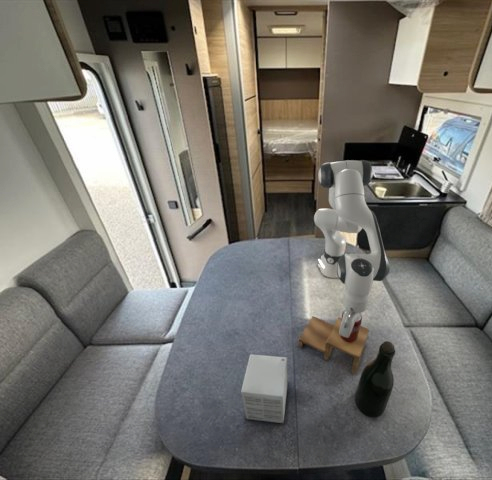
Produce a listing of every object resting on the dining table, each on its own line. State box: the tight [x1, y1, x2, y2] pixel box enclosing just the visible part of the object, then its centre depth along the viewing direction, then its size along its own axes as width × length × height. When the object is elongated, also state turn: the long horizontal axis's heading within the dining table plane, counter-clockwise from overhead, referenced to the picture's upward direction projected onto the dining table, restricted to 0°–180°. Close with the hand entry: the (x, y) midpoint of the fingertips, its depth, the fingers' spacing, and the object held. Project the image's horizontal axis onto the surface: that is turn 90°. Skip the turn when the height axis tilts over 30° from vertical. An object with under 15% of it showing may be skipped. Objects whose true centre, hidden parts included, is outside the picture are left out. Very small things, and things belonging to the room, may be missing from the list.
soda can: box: [339, 308, 363, 342], centre depth 100 cm, size 7×7×12 cm
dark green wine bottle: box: [354, 340, 396, 419], centre depth 84 cm, size 10×10×33 cm
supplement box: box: [240, 353, 289, 424], centre depth 89 cm, size 13×13×18 cm
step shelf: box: [298, 315, 370, 374], centre depth 109 cm, size 14×25×11 cm, turn 61°
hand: (350, 325), depth 101 cm, fingers open, 8 cm apart
